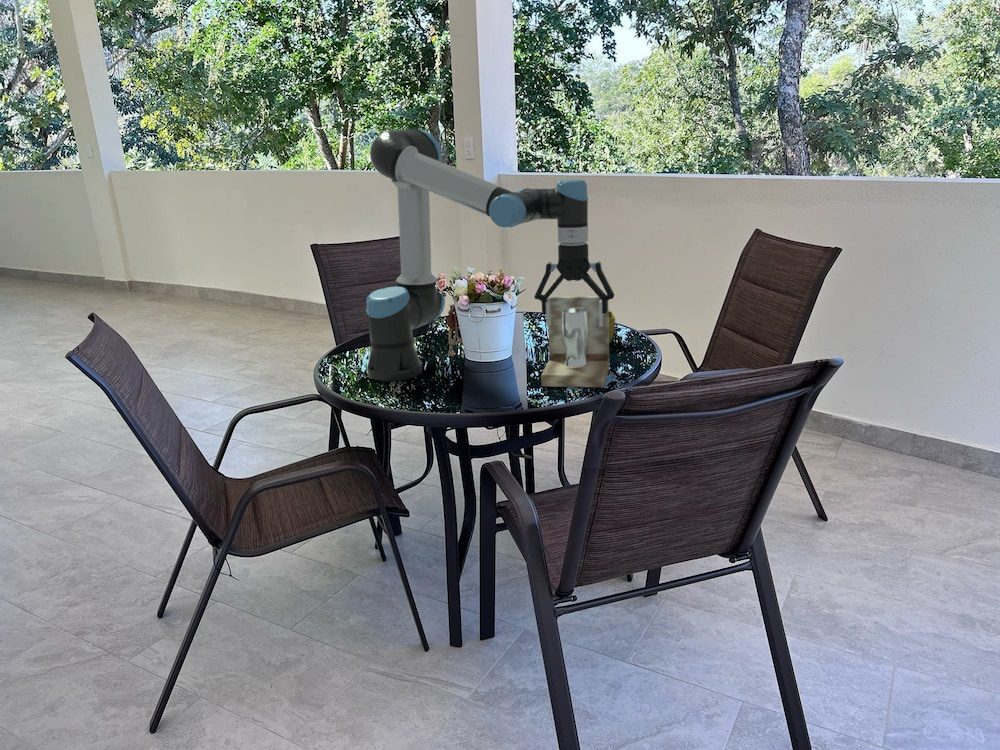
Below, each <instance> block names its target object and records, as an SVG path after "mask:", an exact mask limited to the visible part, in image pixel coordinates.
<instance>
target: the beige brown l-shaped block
mask: <svg viewBox="0 0 1000 750" xmlns="http://www.w3.org/2000/svg"><path fill="white" fill-rule="evenodd" d="M547 300H550V308H551V325H550V327H547V328H548V351H549V353H548V362H547V364H546V365H545V367H544V369H543V371H542V373H541V375H540V381H541V383H540V384H541V387H557V388H558V387H561V388H562V387H563V388H564V387H567V388H568V387H569V388H572V387H573V388H605V387H604V386H606V383H607V379H608V376H609V371H610V343H609V311H610V310H609V300H608V301H607V312H606V314H603V326H602V327H599V301H600V300H601V299H600V298H599V296H598V295H596V296H595V295H594V296H591V295H590V296H549V297H548V298H547ZM571 307H582V308H586V309H587V311H588V322H589V332H588V340H587V346H586V357H587V362H588V366H587V367H585V368H581V369H570V368H566V367H565V359H566V349H565V344H564V340H563V334H562V310H563V309H565V308H571Z"/></svg>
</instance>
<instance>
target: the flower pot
mask: <svg viewBox="0 0 1000 750" xmlns="http://www.w3.org/2000/svg"><path fill="white" fill-rule="evenodd" d="M615 325H616V316H615V314H614V313H613V311H612V310H609V344H610V343H611V342H612V339H613V336H614V334H615V333H614V332H615Z"/></svg>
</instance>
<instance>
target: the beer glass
mask: <svg viewBox="0 0 1000 750" xmlns="http://www.w3.org/2000/svg"><path fill="white" fill-rule="evenodd" d="M588 332H589V322H588V311H587V309H586V308H582V307H571V308H565V309H563V310H562V334H563V340H564V344H565V349H566V359H565V367H566V368H570V369H581V368H585V367H587V366H588V362H587V357H586V346H587V340H588Z"/></svg>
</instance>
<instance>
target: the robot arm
mask: <svg viewBox="0 0 1000 750" xmlns="http://www.w3.org/2000/svg"><path fill="white" fill-rule="evenodd" d="M371 143H372V144H371V146H370V151H369V154H370V160H371V161H370V162H371V163H372V165H373V167H374V168H375V170H376V171H377V172H378V173H379V174H380V175H382V176H384V177H386V178H388V179H390V180H391V183H393V184H394V186H395V187H397V206H398V225H399V226H398V227H399V228H398V231H399V233H398V234H399V249H400V250H399V253H400V256H399V257H400V275H399V276H398V277H397V278H396V280H395V286H389V287H385V288H379V289H377V290H374V291H372V292H370V294H369V295H368V296H367V298H366V308H365V310H366V311H365V312H366V314H367V315H366V316H367V323H368V333H369V341H370V352H369V353H370V354H369V358H368V362H367V367H366V369H367V377H368V379H370V378H372V379H375V380H374V381H376V380H380V381H379V382H397V381H404V380H409V379H412V378H415V377H417V376H419V375H421V374H422V372H423V368H422V366H423V365H422V362H421V360H420V357H419V355H418V353H417V350H416V348H415V346H414V339H413V337H414V336H413V330H416V329H418V328H420V327H422V326H425V325H429V324H431V323H432V322H434V321H435V320H436V319H438V318H440V317H441V315H442V313H443V311H444V308H445V303H446V301H445V300H446V299H445V294H444V293H443V294H440V293H439V292H438V291H436V290H437V289H436V287H435V285H436V282H437V283H438V278H437V277H436V276H435V275H434V274H433V272H432V251H431V250H432V249H431V247H432V246H431V242H432V241H431V213H430V212H431V211H430V210H431V209H430V208H431V207H430V192H432V193H433V194H436V195H439V196H440V197H442V198H445V199H448V200H450V201H453V202H455V203H457V204H459V205H462V206H464V207H466V208H469V209H471V210H473V211H475V212H478V213H480V214H482V215H485V216H487V217H488V218H490V219H491V221H492V222H493V223H494V224H495V225H496V226H498V227H500V228H513V227H516V226H519V225H522V224H524V223H529V222H533V221H536V220H557V242H558V243H559V244H558V246H557V249H558V255H557V256H558V259H557V260H558V261H557V262H558V263H552V262H551V261H548V262H547V264H546V265H545V272H544V275H543V277H542V279H541V281H540V283H539V285H538V287H537V290H536V292H535V294H534V299H535V300H539V301H540V303H541V313H542V314H545V316H546V317H545V319H546V321H545V322H546V325H545V326H546V327H547V328H548V327H550V325H551V308H550V300H547V298H548V297H551V295H552V294H553V293H554V291H555V290H556V289H557V288H558V286H559V285H560V284H561V283H562V282H563V280H564V279H565V281H567V282H572V281H576V282H577V281H582V280H583V281H584V283H586V284H587V286H589V287H590V289H591V290H592V291H593V292H594V293H595V294H596V296H599V298H600V299H601V300H600V301H599V327H602V326H603V314H606V312H607V301H608V302H609V300H613V299H614V297H615V293H614V290H613V289H612V287H611V284H610V283H609V281H608V279H607V277H606V275H605V273H604V271H603V268H602V262H601V261H597V262H591V263H590V261H589V244H588V243H587V242H589V223H588V221H589V220H588V215H589V214H588V213H589V212H588V210H589V209H588V207H589V205H588V202H589V201H588V200H589V197H588V188H587V187H588V185H587V182H586V181H585V180H583V179H563V180H562V179H560V180H558V181H557V182H556V187H554V188H528V187H527V188H522V189H516V190H515V191H511V190H509V189H506V188H504V187H501V186H499V185H498V184H495V183H492V182H490V181H487V180H485V179H482V178H480V177H477V176H476V175H473V174H471V173H468V172H465V171H463V170H462V169H458V168H455V167H453V166H451V165H448V164H446V163H444V162H442V149H441V146H440V144H439V142H438V140H437V139H436V137H434V135H433V134H432V133H431V132H429V131H426V130H423V129H415V128H411V129H410V128H409V129H399V130H397V129H395V130H394V129H393V130H386V131H383V132H381V133H380V134H378V135H377V136H376V137H375V138H374V140H373V141H372V142H371ZM590 269H592V271H593V272H594V273H595V272H596V275H597V277H598V279H599V281H600V283H601V285H602V287H603V289H604V291H605V292H606V293H605V292H604V291H603V290H602V289H601V287H600V286H599V284H597V283H596V281H594V279H593V278H592V277H591V276H590V274H589V273H588V272H589V271H590ZM555 270H557V271H558V272H559V276H558V277H557V278H556V280H555V281H554V282H553V283H552V285H551V286H550V287H549V288H548V290H547V291H546V292H545V293H544V294H543V291H544V289H545V288H546V286H547V285H546V284H547V282H548V281H549V278H550V276H551V274H552V273H553V272H554V271H555ZM443 295H444V296H443ZM372 379H371V380H372Z"/></svg>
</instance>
